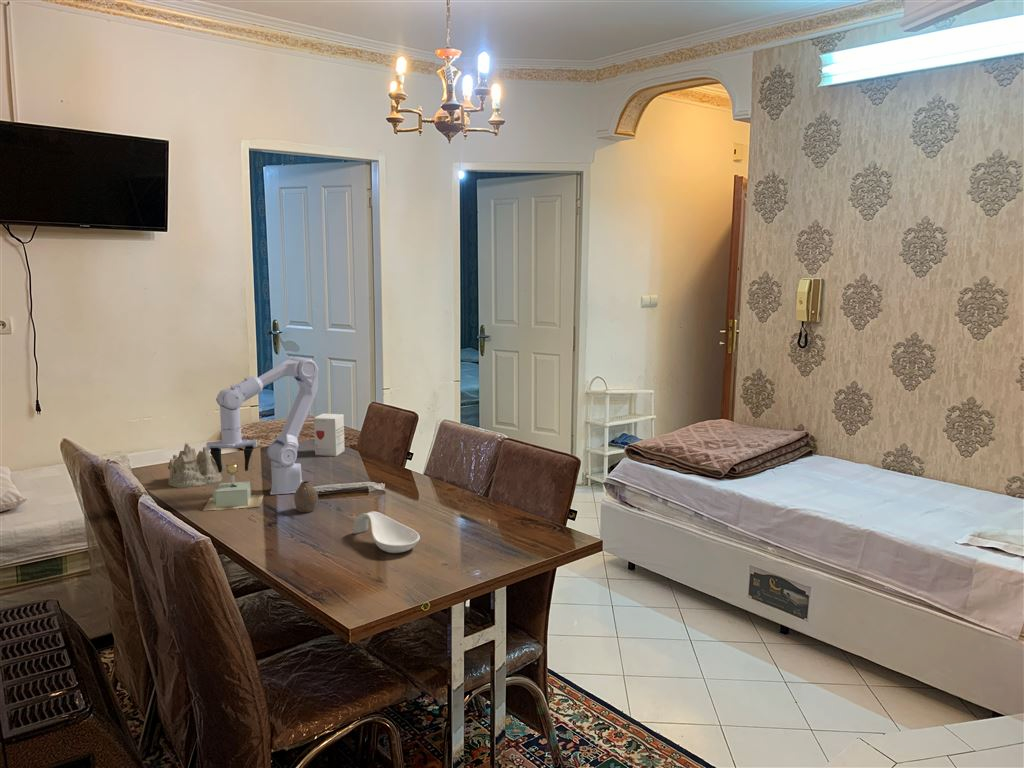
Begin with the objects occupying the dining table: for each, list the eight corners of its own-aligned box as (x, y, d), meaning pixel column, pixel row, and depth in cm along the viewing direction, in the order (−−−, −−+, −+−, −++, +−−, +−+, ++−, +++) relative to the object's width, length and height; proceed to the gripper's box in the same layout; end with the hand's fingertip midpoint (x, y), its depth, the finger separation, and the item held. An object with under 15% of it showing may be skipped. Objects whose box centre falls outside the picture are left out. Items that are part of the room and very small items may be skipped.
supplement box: (314, 455, 288) (312, 417, 286) (323, 449, 297) (322, 413, 294) (336, 456, 287) (335, 418, 284) (345, 450, 295) (344, 413, 293)
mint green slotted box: (251, 496, 235) (250, 481, 234) (247, 505, 226) (247, 489, 225) (216, 498, 233) (215, 483, 232) (211, 507, 224) (210, 491, 223)
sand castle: (225, 482, 252) (220, 438, 250) (174, 492, 243) (168, 447, 241) (214, 474, 265) (209, 433, 263) (164, 484, 256) (159, 441, 254)
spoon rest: (428, 550, 192) (428, 523, 191) (391, 562, 184) (390, 534, 183) (376, 527, 209) (376, 503, 208) (340, 538, 201) (339, 512, 200)
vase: (311, 514, 219) (310, 486, 218) (290, 513, 220) (288, 484, 219) (322, 507, 226) (321, 479, 224) (301, 506, 227) (300, 478, 226)
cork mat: (263, 495, 237) (263, 494, 237) (259, 507, 226) (259, 506, 226) (210, 499, 234) (210, 498, 234) (203, 511, 222) (203, 509, 222)
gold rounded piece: (246, 486, 233) (244, 460, 232) (243, 492, 227) (242, 466, 225) (223, 488, 231) (222, 462, 230) (220, 494, 225) (218, 467, 224)
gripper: (203, 431, 223) (206, 475, 225) (254, 429, 226) (256, 472, 228) (207, 426, 230) (210, 469, 232) (256, 424, 233) (259, 466, 235)
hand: (233, 470), depth 231 cm, fingers open, 7 cm apart
